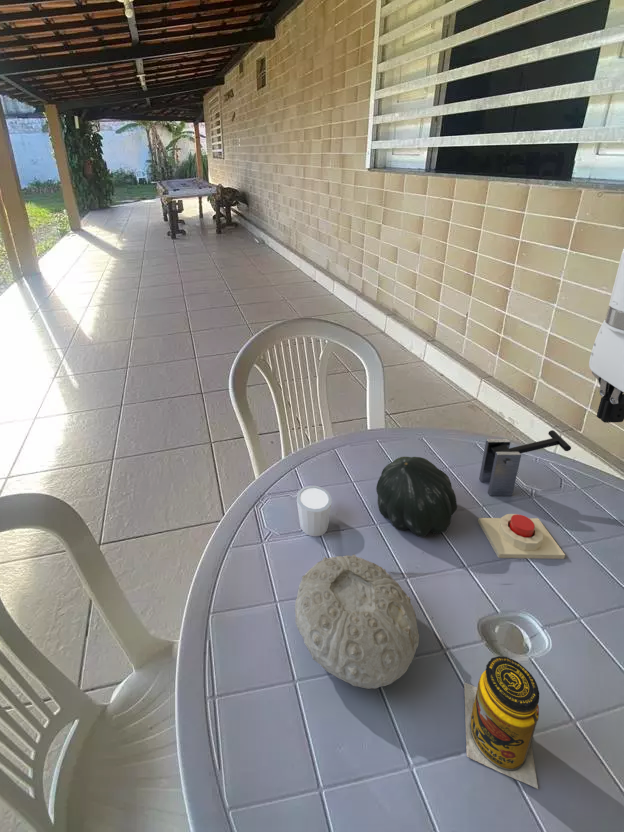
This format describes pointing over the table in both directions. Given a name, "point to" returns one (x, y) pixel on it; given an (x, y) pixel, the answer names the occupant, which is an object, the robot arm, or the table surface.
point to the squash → (416, 496)
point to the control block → (519, 540)
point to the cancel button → (522, 526)
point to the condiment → (503, 719)
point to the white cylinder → (314, 510)
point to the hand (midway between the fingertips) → (609, 419)
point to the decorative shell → (356, 621)
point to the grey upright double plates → (499, 468)
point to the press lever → (535, 445)
